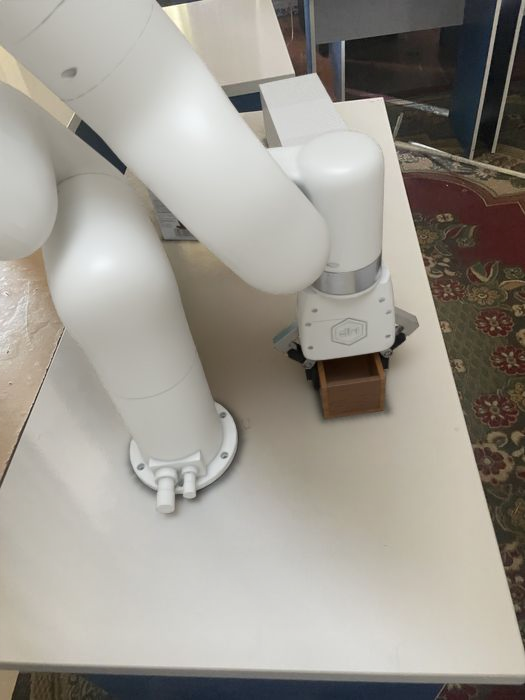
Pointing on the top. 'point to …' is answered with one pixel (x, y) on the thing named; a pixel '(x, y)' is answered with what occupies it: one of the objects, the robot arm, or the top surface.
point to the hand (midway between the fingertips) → (346, 375)
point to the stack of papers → (297, 110)
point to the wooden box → (351, 385)
